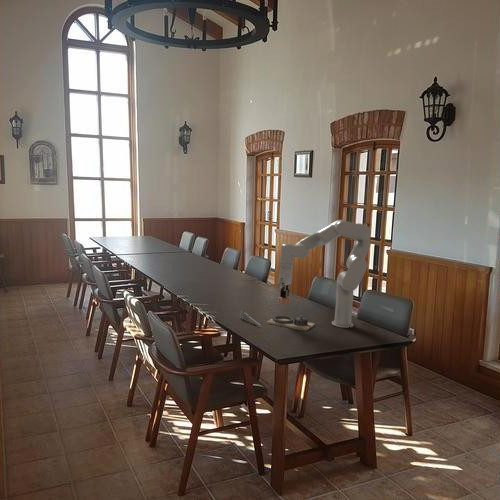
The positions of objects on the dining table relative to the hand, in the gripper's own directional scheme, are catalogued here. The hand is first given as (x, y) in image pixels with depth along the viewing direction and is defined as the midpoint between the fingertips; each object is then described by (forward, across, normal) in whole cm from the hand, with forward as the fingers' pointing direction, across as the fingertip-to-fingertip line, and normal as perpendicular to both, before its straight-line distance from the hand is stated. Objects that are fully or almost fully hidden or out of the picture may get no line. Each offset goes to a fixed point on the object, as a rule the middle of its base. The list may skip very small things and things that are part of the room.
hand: (284, 296), depth 283 cm
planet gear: (+4, 0, 0) cm, 4 cm away
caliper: (+16, +12, -14) cm, 25 cm away
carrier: (+16, 0, +5) cm, 16 cm away
